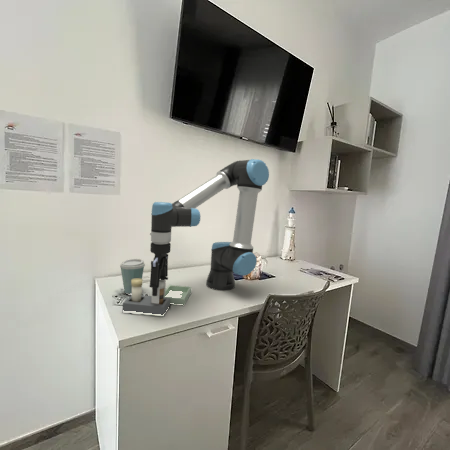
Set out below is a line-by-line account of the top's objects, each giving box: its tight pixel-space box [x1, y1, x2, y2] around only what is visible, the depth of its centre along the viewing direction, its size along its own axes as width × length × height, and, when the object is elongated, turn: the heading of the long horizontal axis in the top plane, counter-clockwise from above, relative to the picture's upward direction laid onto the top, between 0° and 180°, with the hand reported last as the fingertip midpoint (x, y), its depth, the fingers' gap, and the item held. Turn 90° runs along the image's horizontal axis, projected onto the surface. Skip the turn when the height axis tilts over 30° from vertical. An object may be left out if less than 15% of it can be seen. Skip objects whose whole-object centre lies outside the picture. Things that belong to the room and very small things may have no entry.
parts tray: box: [164, 284, 192, 306], centre depth 118 cm, size 11×15×3 cm
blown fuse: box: [153, 279, 166, 305], centre depth 104 cm, size 4×4×12 cm
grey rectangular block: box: [122, 294, 171, 315], centre depth 104 cm, size 16×9×4 cm, turn 85°
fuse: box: [131, 278, 144, 302], centre depth 104 cm, size 4×4×12 cm
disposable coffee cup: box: [119, 258, 146, 294], centre depth 120 cm, size 11×11×15 cm
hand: (158, 299), depth 104 cm, fingers open, 7 cm apart
